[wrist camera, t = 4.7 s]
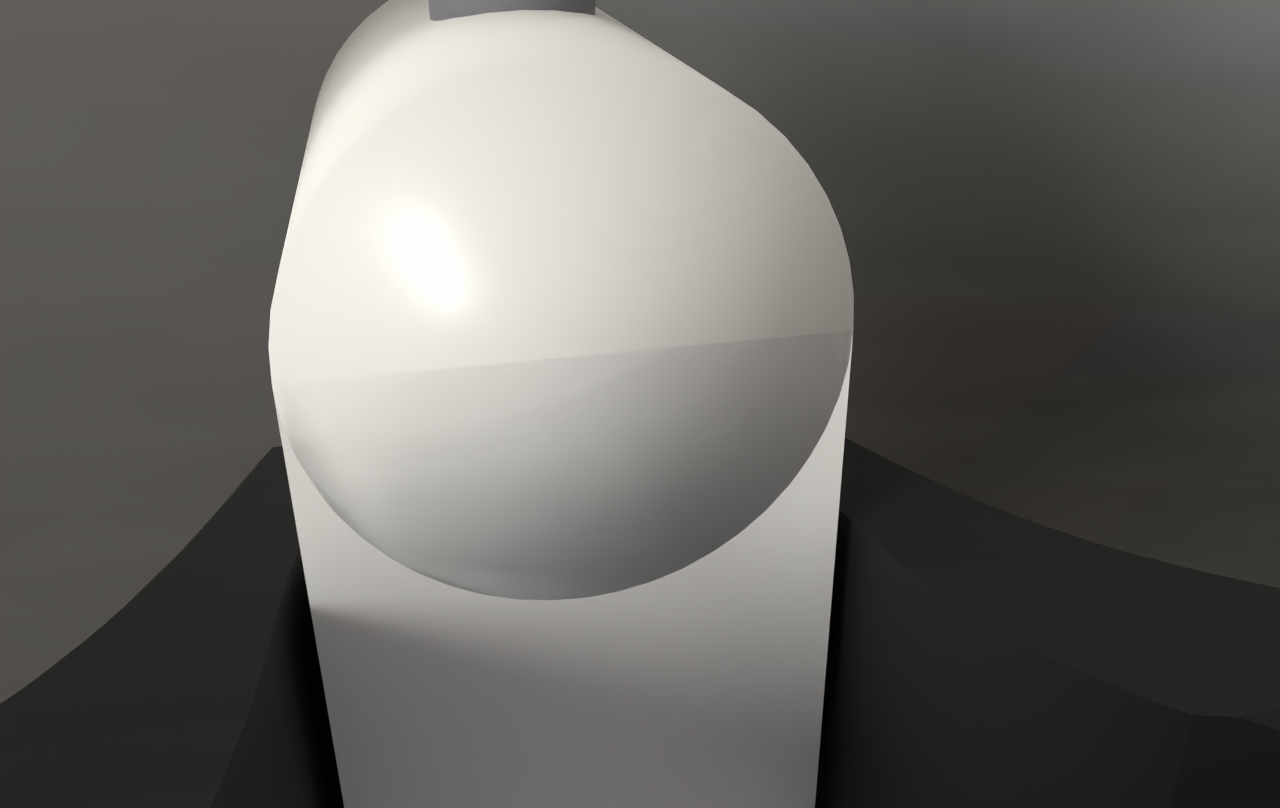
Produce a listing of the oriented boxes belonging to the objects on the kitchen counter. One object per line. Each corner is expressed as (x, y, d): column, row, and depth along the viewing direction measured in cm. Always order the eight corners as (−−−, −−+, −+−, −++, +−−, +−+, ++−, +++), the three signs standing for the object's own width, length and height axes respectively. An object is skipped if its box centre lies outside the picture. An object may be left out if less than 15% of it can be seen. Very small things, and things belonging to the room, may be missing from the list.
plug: (259, -210, 9) (158, -273, 5) (666, -208, 10) (900, -266, 6) (416, 914, 15) (435, 1340, 11) (665, 867, 16) (779, 1253, 11)
